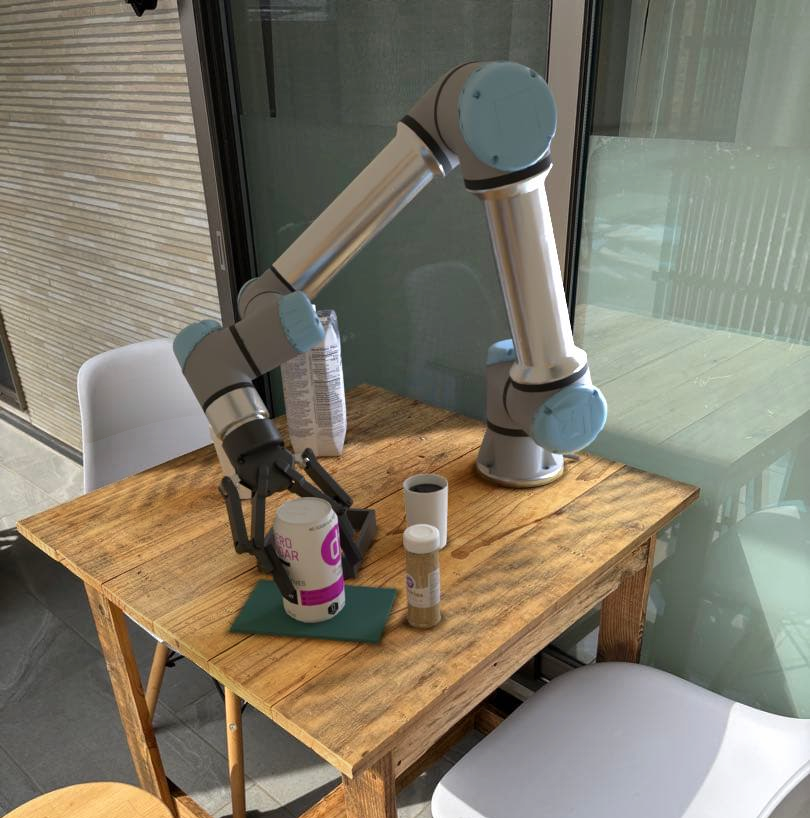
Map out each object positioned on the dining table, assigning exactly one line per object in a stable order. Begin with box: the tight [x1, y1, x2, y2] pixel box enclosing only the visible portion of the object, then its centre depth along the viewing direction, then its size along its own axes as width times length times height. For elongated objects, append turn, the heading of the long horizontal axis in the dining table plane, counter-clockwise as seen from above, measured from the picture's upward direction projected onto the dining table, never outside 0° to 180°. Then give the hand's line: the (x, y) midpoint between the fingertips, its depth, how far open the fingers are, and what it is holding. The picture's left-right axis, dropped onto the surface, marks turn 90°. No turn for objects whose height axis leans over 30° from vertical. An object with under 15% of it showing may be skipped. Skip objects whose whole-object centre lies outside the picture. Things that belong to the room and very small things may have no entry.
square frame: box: [256, 507, 378, 579], centre depth 128 cm, size 15×15×4 cm
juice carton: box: [280, 303, 348, 458], centre depth 155 cm, size 9×10×27 cm
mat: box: [229, 579, 398, 645], centre depth 115 cm, size 20×12×1 cm, turn 79°
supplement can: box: [272, 497, 345, 623], centre depth 111 cm, size 8×8×15 cm
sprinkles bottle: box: [402, 524, 442, 629], centre depth 109 cm, size 5×5×13 cm
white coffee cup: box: [402, 473, 449, 551], centre depth 127 cm, size 7×7×10 cm
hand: (324, 577), depth 109 cm, fingers open, 10 cm apart
